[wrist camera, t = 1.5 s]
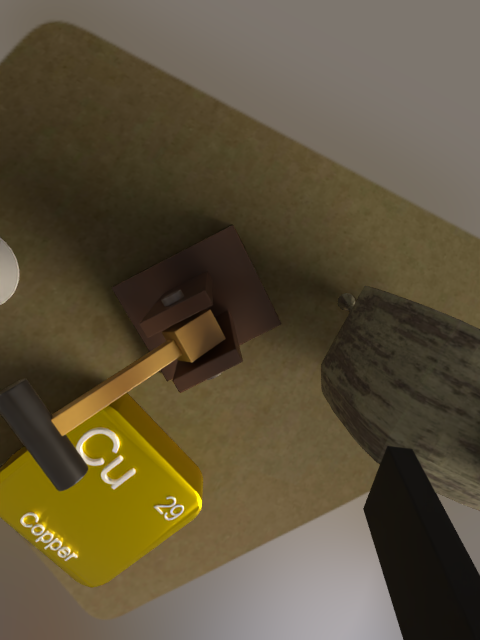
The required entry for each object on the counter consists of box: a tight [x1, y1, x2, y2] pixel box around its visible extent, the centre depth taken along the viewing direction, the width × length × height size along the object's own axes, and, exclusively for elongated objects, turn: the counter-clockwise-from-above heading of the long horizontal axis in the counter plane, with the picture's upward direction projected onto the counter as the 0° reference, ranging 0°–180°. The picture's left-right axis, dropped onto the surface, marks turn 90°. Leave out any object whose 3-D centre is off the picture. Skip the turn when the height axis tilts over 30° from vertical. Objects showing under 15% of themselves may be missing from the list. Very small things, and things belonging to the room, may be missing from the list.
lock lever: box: [0, 309, 226, 491], centre depth 22 cm, size 12×6×2 cm, turn 117°
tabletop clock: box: [321, 286, 480, 511], centre depth 25 cm, size 14×9×25 cm, turn 64°
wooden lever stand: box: [112, 225, 281, 393], centre depth 28 cm, size 12×10×13 cm
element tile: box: [0, 393, 203, 587], centre depth 36 cm, size 15×15×5 cm
